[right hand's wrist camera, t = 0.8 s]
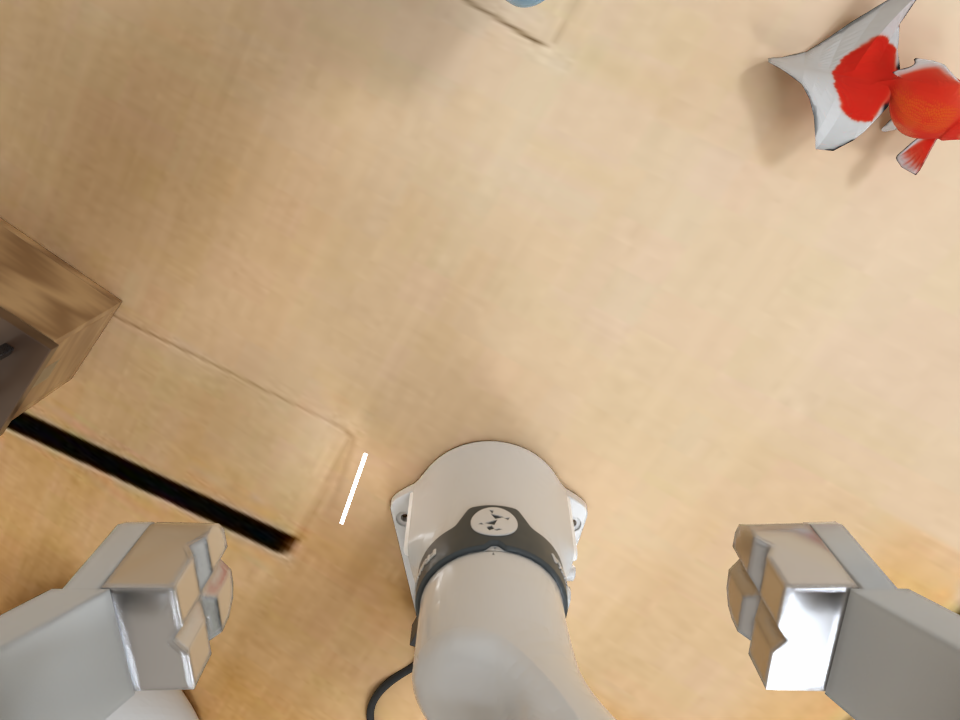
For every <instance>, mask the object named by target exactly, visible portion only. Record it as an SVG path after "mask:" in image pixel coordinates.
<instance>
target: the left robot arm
mask: <svg viewBox="0 0 960 720" xmlns="http://www.w3.org/2000/svg"><path fill="white" fill-rule="evenodd" d="M506 1H508V2H509V3H511V4H513V5H515V6H517V7H531V6H535V5H537V4H539V3H541V2H542V1H544V0H506Z"/></svg>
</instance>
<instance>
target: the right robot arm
mask: <svg viewBox="0 0 960 720" xmlns="http://www.w3.org/2000/svg"><path fill="white" fill-rule="evenodd" d="M366 457H367V454H366V453H364V455H363V458H362V461H361V464H360V466H359V469H358V472H357V475H356V478H355V481H354V484H353V486H352V489H351V492H350V495H349V498H348V501H347V504H346V506H345V509H344V512H343V515H342V518H341V521H340V524H343V523H344V520H345V517H346V514H347V511H348V509H349V506H350V503H351V500H352V497H353V494H354V491H355V489H356V486H357V483H358V480H359V477H360V474H361V472H362V469H363V466H364V463H365V460H366ZM391 513H392V517H393V521H394V525H395V529H396V534H397V538H398V542H399V546H400V550H401V554H402V558H403V562H404V566H405V571H406V575H407V579H408V583H409V587H410V591H411V595H412V599H413V604H414V608H415V612H416V616H417V617H416V619H415V621H414V623H413V625H412V631H411V639H410V645H411V646H414V647H415V653H414V662H413V663H411V664H410V665H408V666H407V667H405V668H403V669H402V670H400V671H398V672H397V673H395V674H394V675H392V676H391V677H389V678H388V679H387V680H386V681H384V682H383V683H382V684H381V685H380V686H379V687H378V689H377V690H376V691H375V692H374V694H373V696H372V697H371V699H370V701H369V704H368V708H367V714H366V715H367V720H374V709H375V706H376V703H377V701H378V699H379V698H380V697H381V695H382V694H383V693H384V692H385V691H386V690H387V689H388V688H389V687H390V686H392V685H393V684H394V683H395V682H397V681H398V680H400V679H401V678H403V677H404V676H406V675H408V674H409V673H411V672H412V684H413V690H414V694H415V697H416V700H417V703H418V705H419V707H420V709H421V711H422V713H423V715H424V716H425V718H426V720H616V719H615V718H614V717H613V716H612V715H611V713H610V712H609V711H608V710H607V709H606V708H605V707H604V706H603V705H602V703H601V702H600V701H599V700H598V698H597V697H596V696H595V695H594V693H593V692H592V691H591V689H590V688H589V686H588V685H587V683H586V682H585V680H584V678H583V676H582V674H581V672H580V670H579V668H578V665H577V662H576V658H575V655H574V651H573V648H572V644H571V640H570V636H569V632H568V628H567V623H566V616H567V611H568V608H569V604H570V597H571V592H570V587H568V586H567V581H573V580H574V578H575V573H576V569H575V566H573V565H572V563H573V561H575V560H576V559H577V544H578V541H579V538H580V535H581V532H582V530H583V527H584V524H585V521H586V518H587V505H586V503H585V502H584V501H583V500H582V499H581V498H580V497H579V496H577V495H576V494H574V493H573V492H571V491H569V490H568V489H566V488H565V487H564V486H563V485H562V483H561V482H560V481H559V479H558V478H557V476H556V475H555V473H554V472H553V470H552V469H551V468H550V467H549V465H548V464H547V463H546V462H545V461H543V460H542V459H541V458H540V457H538V456H537V455H536V454H534V453H532V452H531V451H529V450H527V449H525V448H522V447H520V446H517V445H514V444H510V443H505V442H498V441H481V442H474V443H469V444H465V445H462V446H459V447H457V448H454V449H452V450H450V451H448V452H447V453H445V454H443V455H442V456H440V457H439V458H438V459H437V460H435V461H434V462H433V463H432V464H431V465H430V466H429V467H428V469H427V470H426V471H425V472H424V474H423V475H422V476H421V477H420V478H419V480H418V481H417V482H415V483H414V484H412V485H410V486H408V487H406V488H404V489H403V490H401V491H399V492H398V493H396V494H395V495H394V496H393V497H392V499H391ZM403 514H407V517H404V516H402V515H403ZM573 520H575V521H574V522H573ZM226 548H227V542H226V537H225V532H224V528H223V527H222V526H220V525H219V524H218V523H174V522H157V523H154V522H125V523H122V524H119V525H117V526H116V527H115V528H114V529H113V531H112V532H111V533H110V534H109V535H108V536H107V538H106V539H105V540H104V541H103V542H102V543H101V544H100V546H99V547H98V548H97V549H96V550H95V551H94V553H93V554H92V555H91V556H90V557H89V558H88V560H87V561H86V562H85V563H84V564H83V565H82V566H81V568H80V569H79V570H78V571H77V572H76V573H75V575H74V576H73V577H72V578H71V579H70V580H69V582H68V583H67V584H66V585H65V586H64V587H63V589H51V590H49V591H47V592H45V593H43V594H41V595H39V596H37V597H35V598H33V599H31V600H29V601H27V602H25V603H23V604H21V605H19V606H17V607H15V608H13V609H11V610H9V611H8V612H6V613H4V614H2V615H0V720H105V719H106V718H107V717H109V716H110V715H111V714H112V713H113V712H115V711H116V710H117V709H118V708H119V707H120V706H122V705H123V704H124V703H125V702H126V701H127V700H129V699H130V698H131V697H132V696H133V695H135V692H134V691H153V690H187V689H194V688H195V686H196V684H197V682H198V680H199V678H200V676H201V674H202V672H203V670H204V668H205V666H206V664H207V662H208V660H209V658H210V656H211V648H210V643H209V640H211V639H212V638H214V637H215V636H216V635H218V634H219V633H221V632H222V631H223V629H224V627H225V624H226V622H227V620H228V618H229V614H230V610H231V605H232V600H233V579H232V572H231V569H230V568H229V567H228V566H227V565H226V564H225V563H224V562H223V561H222V560H221V557H222V555H223V553H224V551H225V550H226ZM733 548H734V550H735V551H736V553H737V555H738V557H739V560H738V561H737V562H736V563H735V564H734V565H733V566H732V567H731V568H730V569H729V572H728V580H727V599H728V607H729V610H730V614H731V618H732V620H733V622H734V624H735V627H736V629H737V631H738V632H739V633H741V634H742V635H744V636H745V637H746V638H748V639H749V640H751V643H750V648H749V656H750V658H751V660H752V662H753V664H754V666H755V668H756V670H757V672H758V674H759V676H760V678H761V680H762V682H763V684H764V686H765V688H766V689H771V690H807V691H825V694H826V695H827V696H828V697H829V698H830V699H832V700H833V701H834V702H835V703H836V704H838V705H839V706H840V707H841V708H842V709H843V710H845V711H846V712H847V713H848V714H849V715H850V716H852V717H853V718H854V719H855V720H960V615H958V614H956V613H954V612H952V611H950V610H948V609H947V608H945V607H943V606H941V605H939V604H937V603H935V602H933V601H931V600H929V599H927V598H925V597H923V596H921V595H919V594H917V593H915V592H913V591H911V590H909V589H897V587H896V586H895V585H894V584H893V583H892V582H891V580H890V579H889V578H888V577H887V576H886V575H885V573H884V572H883V571H882V570H881V569H880V568H879V567H878V565H877V564H876V563H875V562H874V561H873V560H872V558H871V557H870V556H869V555H868V554H867V553H866V551H865V550H864V549H863V548H862V547H861V546H860V545H859V543H858V542H857V541H856V540H855V539H854V538H853V536H852V535H851V534H850V533H849V532H848V531H847V529H846V528H845V527H844V526H843V525H841V524H839V523H837V522H807V523H791V524H739V526H738V528H737V530H736V532H735V536H734V541H733Z"/></svg>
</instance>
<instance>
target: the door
mask: <svg viewBox="0 0 960 720" xmlns="http://www.w3.org/2000/svg"><path fill="white" fill-rule="evenodd" d="M58 346H59V344H57V343H56V342H54V341H52V340H51V339H49V338H48V337H46V336H45V335H43V334H42V333H40V332H39V331H37V330H36V329H34V328H32V327H31V326H29V325H28V324H26V323H25V322H23V321H22V320H20V319H19V318H17V317H16V316H14V315H13V314H11V313H9V312H8V311H6V310H5V309H3V308H2V307H0V436H1V435H2V434H3V433H4V431H5V429H6V428H7V426H8V425H9V423H10V422H11V420H12V419H13V417H14V415H15V414H16V412H17V411H18V409H19V408H20V406H21V404H22V403H23V401H24V400H25V398H26V397H27V395H28V393H29V392H30V390H31V389H32V387H33V386H34V384H35V382H36V381H37V379H38V378H39V376H40V375H41V373H42V372H43V370H44V368H45V367H46V365H47V364H48V362H49V361H50V359H51V357H52V356H53V354H54V353H55V351H56V350H57V348H58Z"/></svg>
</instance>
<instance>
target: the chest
mask: <svg viewBox="0 0 960 720" xmlns="http://www.w3.org/2000/svg"><path fill="white" fill-rule="evenodd" d="M121 303H122V301H121V300H120V299H118V298H117V297H115V296H114V295H112V294H111V293H109V292H108V291H106V290H105V289H104V288H102V287H101V286H99V285H98V284H96V283H95V282H93V281H92V280H90V279H89V278H88V277H86V276H85V275H83V274H82V273H80V272H79V271H77V270H76V269H74V268H73V267H71V266H70V265H69V264H67V263H66V262H64V261H63V260H61V259H60V258H58V257H57V256H55V255H54V254H52V253H51V252H50V251H48V250H47V249H45V248H44V247H42V246H41V245H39V244H38V243H36V242H35V241H34V240H32V239H31V238H29V237H28V236H26V235H25V234H23V233H22V232H20V231H19V230H17V229H16V228H15V227H13V226H12V225H10V224H9V223H7V222H6V221H4V220H3V219H1V218H0V307H2V308H3V309H5V310H6V311H8V312H9V313H11V314H13V315H14V316H16V317H17V318H19V319H20V320H22V321H23V322H25V323H26V324H28V325H29V326H31V327H32V328H34V329H36V330H37V331H39V332H40V333H42V334H43V335H45V336H46V337H48V338H49V339H51V340H52V341H54V342H56V343H57V344H59V346H58V348H57V350H56V351H55V353H54V354H53V356H52V357H51V359H50V361H49V362H48V364H47V365H46V367H45V368H44V370H43V372H42V373H41V375H40V376H39V378H38V379H37V381H36V382H35V384H34V386H33V387H32V389H31V390H30V392H29V393H28V395H27V397H26V398H25V400H24V401H23V403H22V404H21V406H20V408H19V409H18V411H17V412H16V414H15V415H14V417H13V419H14V418H16V417H17V416H19V415H20V414H21V413H23V412H24V411H26V410H27V409H29V408H30V407H32V406H33V405H34V404H36V403H37V402H39V401H40V400H42V399H43V398H44V397H46V396H47V395H49V394H50V393H52V392H53V391H54V390H56V389H57V388H59V387H60V386H62V385H63V384H65V383H66V382H68V381H69V380H71V379H72V377H73V376H74V374H75V373H76V371H77V370H78V368H79V367H80V365H81V364H82V362H83V361H84V359H85V357H86V356H87V354H88V353H89V351H90V350H91V348H92V347H93V345H94V344H95V342H96V341H97V339H98V338H99V336H100V335H101V333H102V332H103V330H104V329H105V327H106V326H107V324H108V323H109V321H110V319H111V318H112V316H113V315H114V313H115V312H116V310H117V309H118V307H119V306H120V304H121ZM13 419H12V420H13Z"/></svg>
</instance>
